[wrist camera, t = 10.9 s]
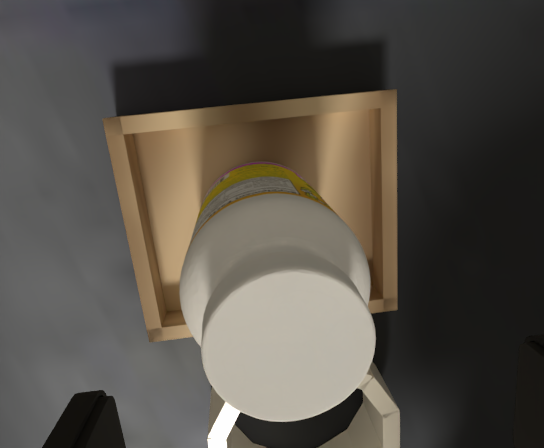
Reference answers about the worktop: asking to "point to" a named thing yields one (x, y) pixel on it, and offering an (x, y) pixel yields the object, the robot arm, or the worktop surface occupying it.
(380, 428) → the holder
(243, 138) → the tray
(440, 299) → the worktop surface
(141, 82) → the worktop surface
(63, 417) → the robot arm
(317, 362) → the supplement bottle
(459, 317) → the worktop surface
